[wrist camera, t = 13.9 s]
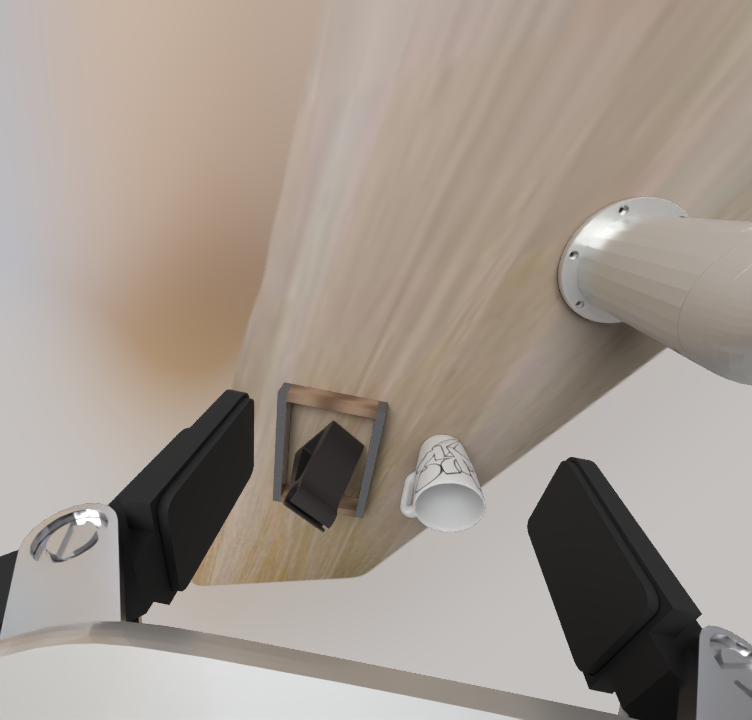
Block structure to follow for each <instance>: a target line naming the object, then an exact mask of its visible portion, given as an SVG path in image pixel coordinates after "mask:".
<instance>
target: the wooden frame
mask: <svg viewBox="0 0 752 720" xmlns="http://www.w3.org/2000/svg"><path fill="white" fill-rule="evenodd" d="M292 403H297V404H302V405H307V406H312V407H317V408H322V409H327V410H333V411H338V412H343V413H348V414H353V415H358V416H363V417H368V418H373V419H375V422H374V427H373V431H372V436H371V441H370V446H369V450H368V455H367V460H366V465H365V469H364V474H363V479H362V484H361V488H360V493H359V498H353V497H348V496H342V498H341V500H340V503H339V506H338V510H337V513H339V514H344V515H349V516H354V517H359V518H363V514H364V509H365V505H366V501H367V496H368V492H369V487H370V483H371V479H372V474H373V470H374V465H375V461H376V457H377V452H378V448H379V443H380V439H381V435H382V430H383V426H384V421H385V417H386V412H387V403H386V402H381V401H376V400H371V399H365V398H360V397H355V396H350V395H345V394H340V393H335V392H330V391H325V390H320V389H315V388H310V387H304V386H299V385H294V384H289V383H284V384H283V385H282V387H281V388H280V390H279V391H278V400H277V422H276V444H275V466H274V489H273V500H274V501H279V502H284V499H285V497H286V495H287V492H288V490H289V486H290V485H288V484H286V478H287V464H288V449H289V435H290V420H291V405H292Z"/></svg>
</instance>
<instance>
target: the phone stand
mask: <svg viewBox="0 0 752 720" xmlns="http://www.w3.org/2000/svg"><path fill="white" fill-rule="evenodd" d="M363 447H364V445H362V444H361V443H360V442H359V441H358V440H356V439H355V438H354V437H353V436H352V435H350V434H349V433H348V432H347V431H345V430H344V429H343V428H342V427H341V426H339V425H338V424H337V423H336V422H334V421H332V422H331V423H330V424H329V425H328V426H326V427H325V428H324V429H323V430H322V431H320V432H319V433H318V434H317V435H316V436H315V437H313V438H312V439H311V440H310V441H309V442H307V443H306V444H305V445H304V446H303V447H302V448H300V449H299V450H298V451H297V452H296V454H295V459H294V464H293V470H292V475H291V481H290V486H289V490H288V492H287V495H286V497H285V499H284V502H283V504H284V505H285V506H286V507H288V508H289V509H291V510H292V511H293V512H295V513H296V514H298V515H299V516H300V517H302V518H303V519H305V520H306V521H308V522H309V523H310V524H312V525H313V526H315V527H316V528H318V529H319V530H320V531H322V532H324V531H325V529H323V528H322V525H325V526H326V527H327V528H330V527H331V525H332V524H333V522H334V521H335V519H336V516H337V510H338V506H339V503H340V500H341V498H342V496H343V493H344V491H345V489H346V486H347V484H348V482H349V479H350V477H351V475H352V472H353V470H354V468H355V465H356V463H357V461H358V459H359V456H360V454H361V452H362V449H363Z"/></svg>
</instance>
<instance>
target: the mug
mask: <svg viewBox="0 0 752 720" xmlns="http://www.w3.org/2000/svg"><path fill="white" fill-rule="evenodd" d="M413 488H414V494H413ZM412 496H413V505H411V503H412ZM401 511H402V513H403V514H404V515H405V516H407V517H409V518H414V517H417V518H418V519H419V520H420V522H422V523H423V524H424V525H426V526H427V527H429V528H431V529H434V530H438V531H442V532H458V531H462V530H466V529H469V528H470V527H472V526H474V525H475V524H477V523H478V522H479V521H480V520H481V518H482V517H483V515H484V512H485V500H484V496H483V493H482V490H481V487H480V484H479V481H478V478H477V476H476V473H475V470H474V468H473V466H472V464H471V461H470V459H469V457H468V455H467V453H466V451H465V449H464V448H463V446H462V444H461V443H460V442H459V441H458V440H457V439H455V438H454V437H452V436H448V435H435V436H432V437H430V438H428V439H427V440H426V441H425V442H424V443H423V444H422V446H421V448H420V452H419V456H418V461H417V466H416V471H414V472H413V473H411V474H410V475H409V476H408V477H407V478H406V480H405V483H404V489H403V494H402V498H401Z"/></svg>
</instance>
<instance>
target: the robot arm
mask: <svg viewBox="0 0 752 720" xmlns="http://www.w3.org/2000/svg"><path fill="white" fill-rule="evenodd" d="M620 208H621V211H620V212H619V209H620ZM571 252H572V253H573V254H572V256H570V254H571ZM558 283H559V289H560V292H561V294H562V297H563V299H564V300H565V302H566V303H567V305H568V306H569V307H570V308H571V309H572V310H573V311H575V312H576V313H577V314H579V315H581V316H582V317H584V318H586V319H589V320H591V321H595V322H600V323H620V322H624V323H626V324H628V325H629V326H631V327H633V328H635V329H636V330H638V331H640V332H642V333H644V334H645V335H647V336H649V337H651V338H652V339H654V340H656V341H658V342H659V343H661V344H663V345H665V346H667V347H668V348H670V349H672V350H674V351H676V352H677V353H679V354H681V355H683V356H684V357H686V358H688V359H689V360H691V361H693V362H695V363H697V364H698V365H700V366H702V367H704V368H706V369H707V370H710V371H711V372H713V373H715V374H717V375H719V376H722V377H724V378H726V379H729V380H732V381H735V382H738V383H742V384H747V385H752V222H747V221H731V220H714V219H698V218H690V216H689V215H688V214H687V213H686V212H685V211H684V210H683V209H682V208H681V207H680V206H678V205H676V204H675V203H673V202H671V201H668V200H665V199H662V198H653V197H636V198H630V199H626V200H621V201H619V202H616V203H614V204H611V205H608V206H607V207H605V208H603V209H602V210H600V211H598V212H596V213H595V214H594V215H592V216H591V217H590V218H589V219H587V220H586V221H585V222H584V223H583V224H582V225H581V226H580V227H579V228H578V229H577V231H576V232H575V233H574V234H573V236H572V237H571V239H570V240H569V242H568V243H567V245H566V247H565V249H564V252H563V254H562V256H561V260H560V264H559V269H558ZM577 302H578V304H576V303H577ZM253 466H254V400H253V399H249V395H248V394H247V393H244V392H239V391H234V390H226V391H225V392H224V393H223V394H222V395H221V396H220V397H219V398H218V399H217V401H216V402H214V403H213V404H212V405H211V407H209V409H208V410H207V411H206V412H205V413H204V414H203V415H202V416H201V417H200V418H199V419H198V420H197V421H196V422H195V423H194V424H193V425H192V426H191V427H190V428H186V429H184V430H182V431H181V432H180V433H179V434H178V435H177V436H176V437H175V438H174V439H173V440H172V441H171V442H170V443H169V444H168V445H167V446H166V447H165V448H164V449H163V450H162V451H161V452H160V453H159V454H158V455H157V456H156V457H155V458H154V459H153V460H152V461H151V462H150V463H149V464H148V465H147V466H146V467H145V468H144V469H143V470H142V472H140V473H139V474H138V475H137V477H135V478H134V479H133V480H132V481H131V482H130V483H129V484H128V485H127V487H125V488H124V489H123V490H122V491H121V493H119V495H118V496H116V498H115V499H114V500H113V501H112V502H111V503H110V504H109V505H108V506H107V505H103V504H99V503H96V504H95V503H92V504H91V503H90V504H89V503H87V504H83V505H77V506H73V507H70V508H68V509H65V510H62V511H60V512H58V513H56V514H54V515H52V516H51V517H49V518H47V519H45V520H44V521H43V522H41V523H40V524H39V525H38V526H36V527H35V528H34V529H32V531H31V532H30V533H29V534H28V535H27V537H26V538H25V539H24V540H23V542H22V544H21V546H20V549H19V550H17V551H14V552H11V553H9V554H6V555H3V556H1V557H0V720H752V645H751V644H749V643H748V642H747V641H745V640H744V639H742V638H740V637H739V636H737V635H735V634H734V633H732V632H730V631H728V630H725V629H723V628H720V627H716V626H707V627H705V628H701V627H700V625H699V624H698V622H697V621H696V619H697V618H698V617H699V616H700V615H702V613H701V612H700V611H699V609H698V608H697V606H696V605H695V603H694V602H693V601H692V599H691V598H690V596H689V595H688V594H687V592H686V591H685V589H684V588H683V587H682V585H681V584H680V582H679V581H678V580H677V578H676V577H675V575H674V574H673V573H672V571H671V570H670V568H669V567H668V565H667V564H666V563H665V561H664V560H663V558H662V557H661V555H660V554H659V553H658V551H657V550H656V548H655V547H654V546H653V544H652V543H651V541H650V540H649V539H648V537H647V536H646V534H645V533H644V532H643V530H642V529H641V527H640V526H639V525H638V523H637V522H636V521H635V519H634V517H633V516H632V515H631V513H630V512H629V510H628V509H627V508H626V506H625V505H624V504H623V502H622V500H621V499H620V498H619V496H618V495H617V493H616V492H615V491H614V489H613V488H612V486H611V485H610V484H609V482H608V481H607V479H606V478H605V477H604V475H603V474H602V472H601V471H600V469H599V468H598V467H597V465H596V464H595V463H594V462H592V461H590V460H585V459H579V458H574V457H570V458H568V459H567V460H566V461H562V462H561V463H560V465H559V467H558V469H557V470H556V472H555V474H554V476H553V477H552V479H551V481H550V483H549V484H548V486H547V488H546V490H545V492H544V493H543V495H542V497H541V499H540V501H539V502H538V504H537V506H536V508H535V509H534V511H533V513H532V515H531V516H530V518H529V520H528V525H527V528H528V534H529V536H530V539H531V542H532V545H533V548H534V550H535V553H536V556H537V559H538V562H539V564H540V567H541V570H542V573H543V575H544V578H545V581H546V584H547V586H548V589H549V592H550V595H551V598H552V600H553V603H554V606H555V609H556V612H557V614H558V617H559V620H560V623H561V626H562V628H563V631H564V634H565V637H566V640H567V642H568V645H569V648H570V651H571V654H572V656H573V659H574V662H575V664H576V666H577V667H578V669H579V670H580V671H582V672H583V674H584V676H585V679H586V682H587V684H588V687H589V689H591V690H596V691H601V692H606V693H611V694H612V693H613V692H616V695H617V697H618V699H619V702H620V708H619V713H618V715H615V714H611V713H606V712H601V711H596V710H592V709H587V708H582V707H577V706H572V705H568V704H563V703H557V702H553V701H548V700H543V699H539V698H533V697H529V696H524V695H519V694H514V693H510V692H505V691H500V690H495V689H490V688H485V687H480V686H475V685H470V684H465V683H460V682H455V681H450V680H446V679H440V678H435V677H431V676H426V675H421V674H416V673H410V672H406V671H400V670H396V669H391V668H386V667H380V666H376V665H371V664H366V663H361V662H355V661H351V660H346V659H340V658H335V657H330V656H325V655H320V654H315V653H309V652H304V651H299V650H294V649H289V648H284V647H279V646H274V645H269V644H263V643H259V642H253V641H248V640H243V639H238V638H232V637H226V636H220V635H215V634H209V633H203V632H197V631H191V630H185V629H180V628H174V627H168V626H161V625H151V624H143V623H142V618H141V616H142V615H144V614H146V613H147V611H148V609H149V608H150V606H151V605H152V603H153V602H158V603H163V604H168V605H169V604H170V603H171V601H172V599H173V598H174V596H175V594H176V593H177V591H183V590H185V589H186V587H187V586H188V584H189V583H190V581H191V579H192V578H193V576H194V574H195V573H196V571H197V569H198V567H199V566H200V564H201V562H202V560H203V559H204V557H205V555H206V553H207V552H208V550H209V548H210V546H211V545H212V543H213V541H214V539H215V538H216V536H217V534H218V533H219V531H220V529H221V527H222V526H223V524H224V522H225V520H226V519H227V517H228V515H229V513H230V512H231V510H232V508H233V506H234V505H235V503H236V501H237V499H238V498H239V496H240V494H241V492H242V491H243V489H244V487H245V486H246V484H247V482H248V480H249V479H250V477H251V474H252V471H253Z"/></svg>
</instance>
